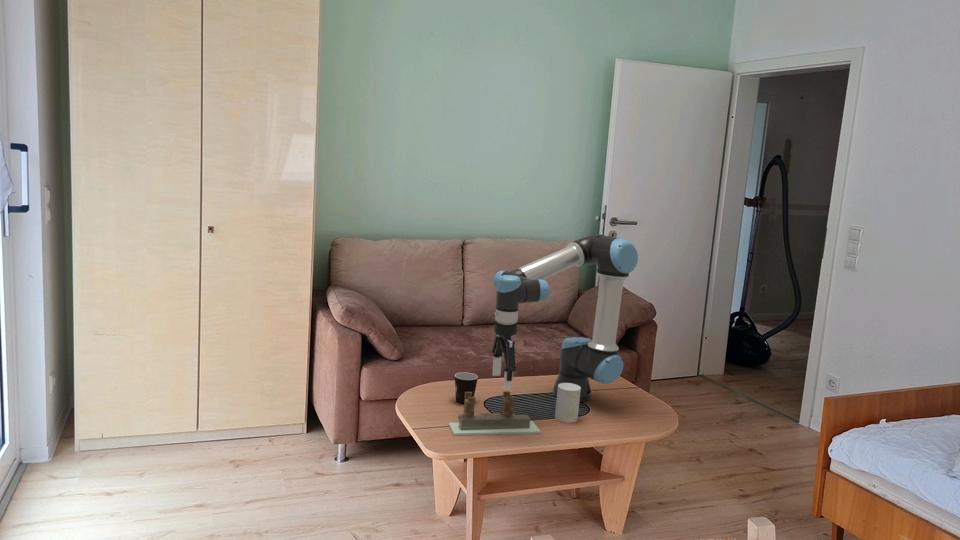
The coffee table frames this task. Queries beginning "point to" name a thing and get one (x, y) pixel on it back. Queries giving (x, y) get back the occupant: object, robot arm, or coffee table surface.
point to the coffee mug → (464, 385)
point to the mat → (493, 430)
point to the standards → (506, 410)
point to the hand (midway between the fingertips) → (501, 382)
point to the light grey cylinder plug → (567, 402)
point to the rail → (494, 422)
